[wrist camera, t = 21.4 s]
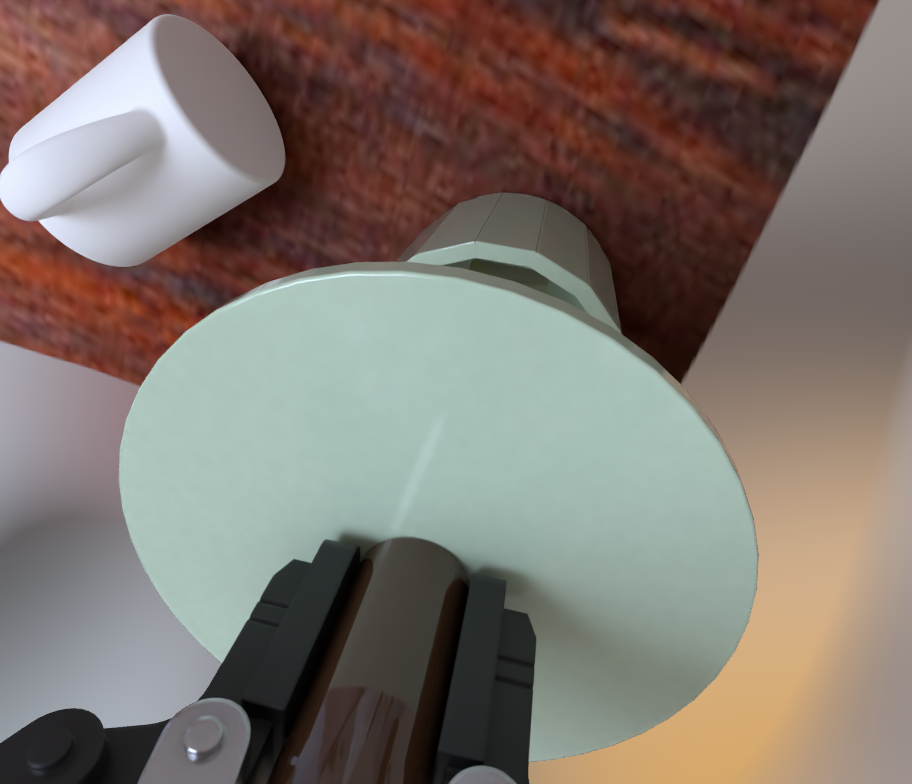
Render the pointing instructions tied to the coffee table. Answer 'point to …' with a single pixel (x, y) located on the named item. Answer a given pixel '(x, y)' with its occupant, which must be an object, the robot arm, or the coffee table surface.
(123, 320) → the coffee table surface
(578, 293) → the jar
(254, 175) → the mug
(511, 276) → the block
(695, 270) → the coffee table surface
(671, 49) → the coffee table surface
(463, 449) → the lid
